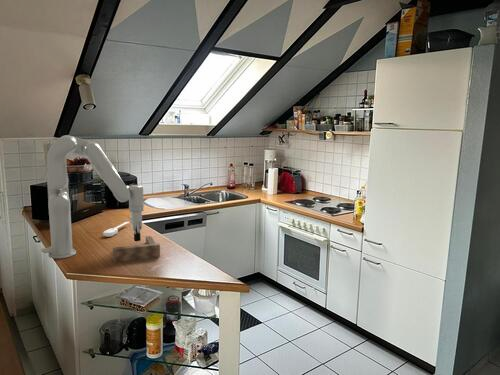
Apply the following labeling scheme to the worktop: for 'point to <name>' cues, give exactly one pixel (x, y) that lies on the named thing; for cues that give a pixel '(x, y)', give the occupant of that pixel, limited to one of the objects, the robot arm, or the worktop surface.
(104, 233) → the white toy guitar
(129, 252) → the brown angled block
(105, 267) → the worktop surface
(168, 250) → the worktop surface
